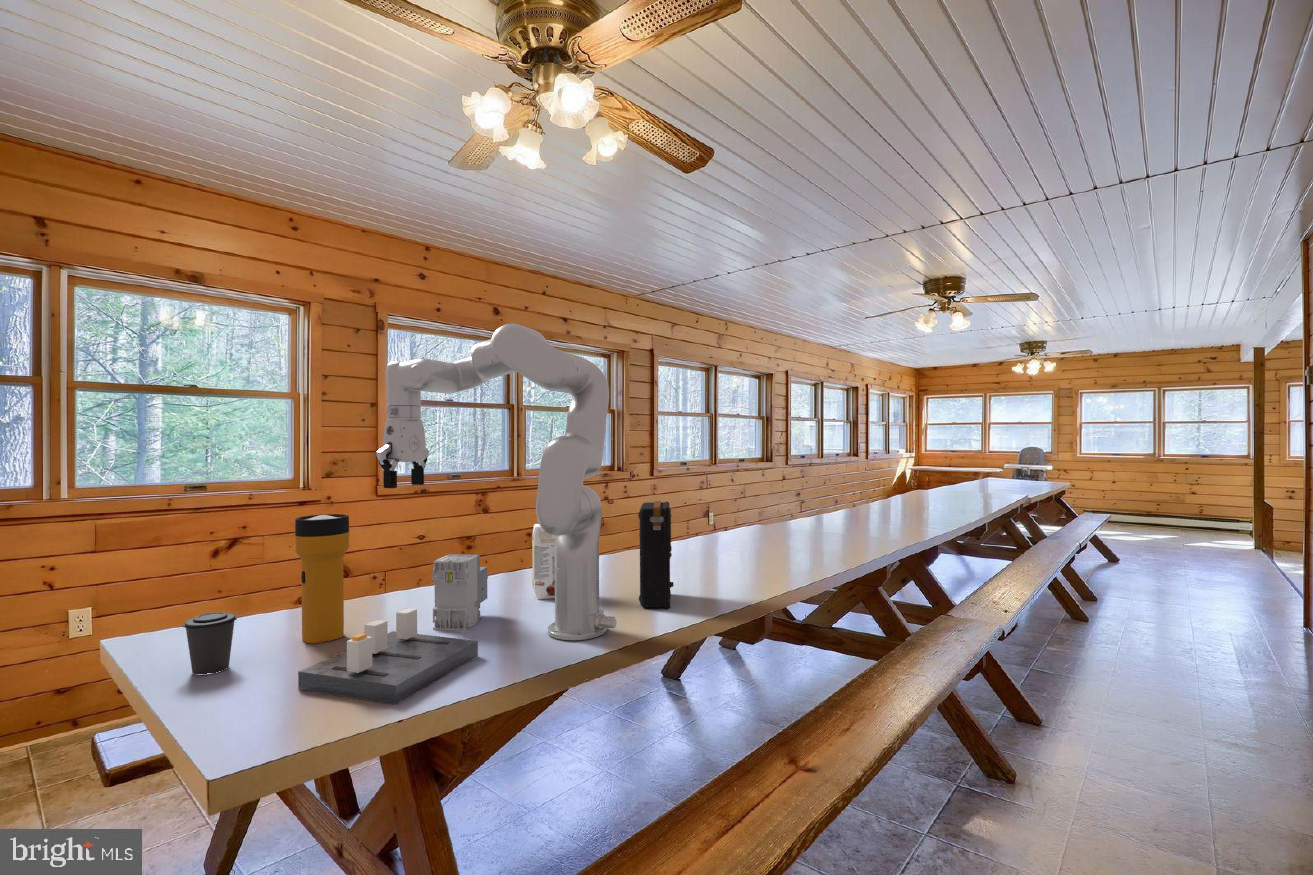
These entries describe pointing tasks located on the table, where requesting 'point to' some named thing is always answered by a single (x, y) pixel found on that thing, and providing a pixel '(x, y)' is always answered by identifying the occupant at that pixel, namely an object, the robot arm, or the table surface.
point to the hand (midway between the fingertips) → (404, 486)
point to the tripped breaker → (359, 653)
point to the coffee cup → (210, 641)
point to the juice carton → (543, 563)
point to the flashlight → (322, 574)
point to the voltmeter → (655, 554)
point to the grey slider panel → (391, 669)
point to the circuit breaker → (458, 591)
